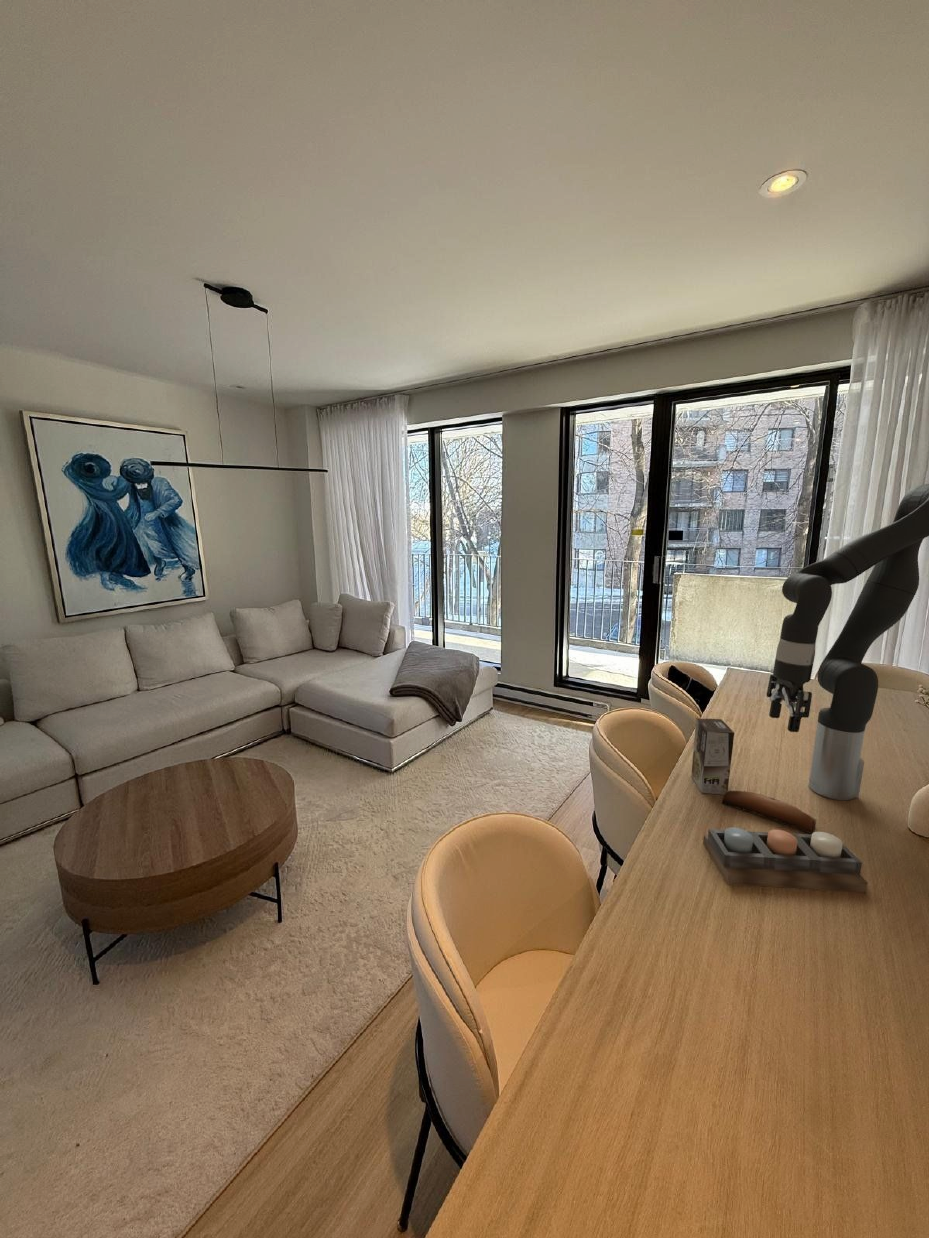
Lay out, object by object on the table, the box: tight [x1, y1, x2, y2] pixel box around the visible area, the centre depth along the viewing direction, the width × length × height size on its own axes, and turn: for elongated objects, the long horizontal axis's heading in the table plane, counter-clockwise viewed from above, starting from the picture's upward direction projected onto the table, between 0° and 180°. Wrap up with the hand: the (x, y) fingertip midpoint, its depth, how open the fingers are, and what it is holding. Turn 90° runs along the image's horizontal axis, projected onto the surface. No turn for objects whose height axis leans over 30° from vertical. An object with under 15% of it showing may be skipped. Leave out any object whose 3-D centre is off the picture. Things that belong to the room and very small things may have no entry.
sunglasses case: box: [721, 790, 818, 835], centre depth 116 cm, size 18×7×7 cm
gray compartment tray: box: [702, 829, 869, 893], centre depth 98 cm, size 24×12×4 cm, turn 85°
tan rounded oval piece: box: [767, 829, 798, 856], centre depth 97 cm, size 5×5×3 cm
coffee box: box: [690, 717, 736, 796], centre depth 127 cm, size 9×6×16 cm
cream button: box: [810, 831, 844, 858], centre depth 97 cm, size 5×5×3 cm
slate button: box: [724, 827, 753, 853], centre depth 98 cm, size 5×5×3 cm
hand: (783, 724), depth 122 cm, fingers open, 8 cm apart
